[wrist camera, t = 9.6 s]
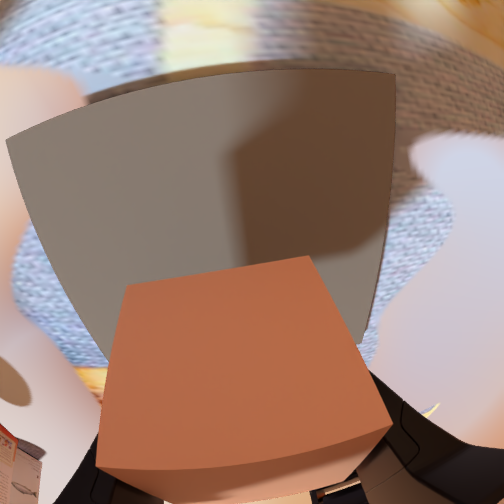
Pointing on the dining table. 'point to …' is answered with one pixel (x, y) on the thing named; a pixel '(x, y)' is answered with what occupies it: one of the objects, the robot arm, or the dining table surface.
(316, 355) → the terracotta cube
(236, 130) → the mat
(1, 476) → the cracker box
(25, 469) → the supplement box
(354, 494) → the robot arm
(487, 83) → the dining table surface
